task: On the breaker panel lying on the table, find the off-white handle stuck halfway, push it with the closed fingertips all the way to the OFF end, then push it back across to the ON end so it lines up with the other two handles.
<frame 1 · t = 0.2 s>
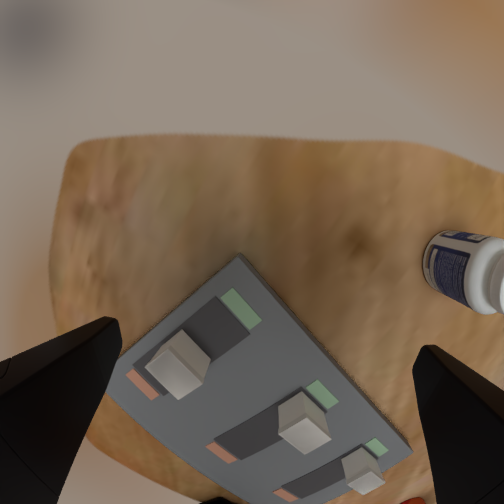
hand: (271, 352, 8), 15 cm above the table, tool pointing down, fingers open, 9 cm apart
middle handle: (303, 422, 20), point 4 cm above the table, slide at 3.5 cm
pill bottle: (444, 260, 22), on the table
breaker panel: (267, 425, 25), on the table
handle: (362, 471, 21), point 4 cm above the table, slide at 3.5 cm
tripped handle: (179, 363, 20), point 4 cm above the table, slide at 0.0 cm
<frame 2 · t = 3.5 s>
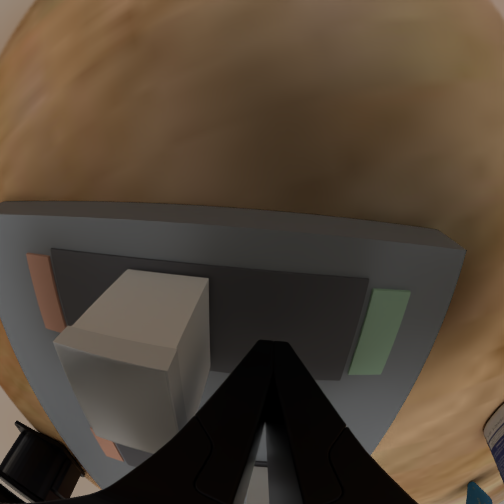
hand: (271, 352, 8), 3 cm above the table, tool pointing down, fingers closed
breaker panel: (195, 446, 15), on the table
tripped handle: (149, 360, 7), point 4 cm above the table, slide at -0.6 cm, touching gripper
ornament: (471, 480, 18), on the table
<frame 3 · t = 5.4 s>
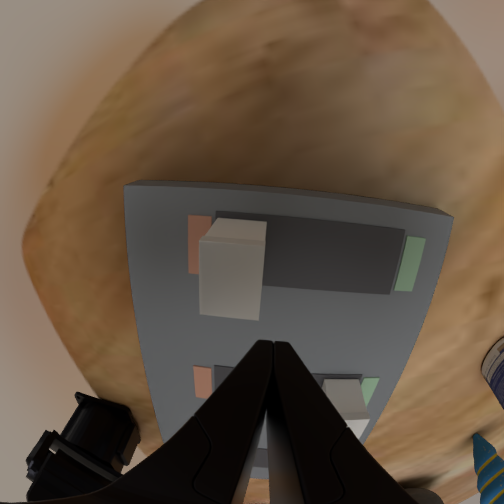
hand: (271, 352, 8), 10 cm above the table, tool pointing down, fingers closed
middle handle: (339, 414, 17), point 4 cm above the table, slide at 3.5 cm
pill bottle: (500, 353, 20), on the table
breaker panel: (271, 380, 21), on the table
bowl: (391, 494, 30), on the table
tripped handle: (235, 264, 14), point 4 cm above the table, slide at -3.6 cm
ornament: (475, 433, 24), on the table
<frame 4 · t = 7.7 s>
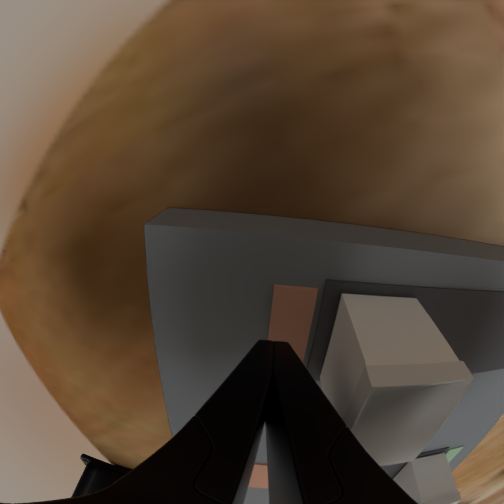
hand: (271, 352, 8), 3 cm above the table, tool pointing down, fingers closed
middle handle: (422, 492, 10), point 4 cm above the table, slide at 3.5 cm
breaker panel: (337, 456, 14), on the table
tripped handle: (381, 381, 7), point 4 cm above the table, slide at -3.2 cm, touching gripper
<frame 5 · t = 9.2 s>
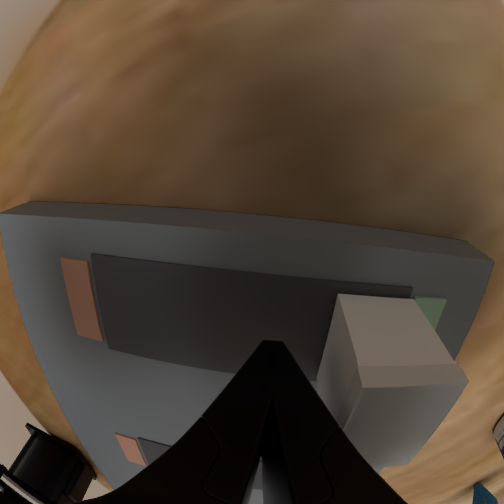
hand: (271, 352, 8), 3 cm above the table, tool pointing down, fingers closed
breaker panel: (220, 449, 15), on the table
tripped handle: (376, 382, 7), point 4 cm above the table, slide at 3.8 cm, touching gripper
ornament: (477, 481, 18), on the table
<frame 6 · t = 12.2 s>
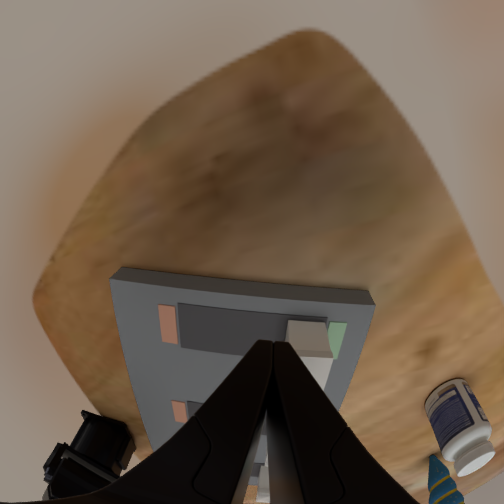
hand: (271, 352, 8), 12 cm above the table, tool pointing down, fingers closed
middle handle: (282, 442, 21), point 4 cm above the table, slide at 3.5 cm
pill bottle: (445, 394, 24), on the table
breaker panel: (234, 410, 26), on the table
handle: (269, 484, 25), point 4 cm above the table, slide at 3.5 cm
tripped handle: (304, 358, 18), point 4 cm above the table, slide at 3.6 cm
ornament: (432, 454, 29), on the table
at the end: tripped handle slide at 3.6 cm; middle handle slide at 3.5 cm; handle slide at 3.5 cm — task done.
